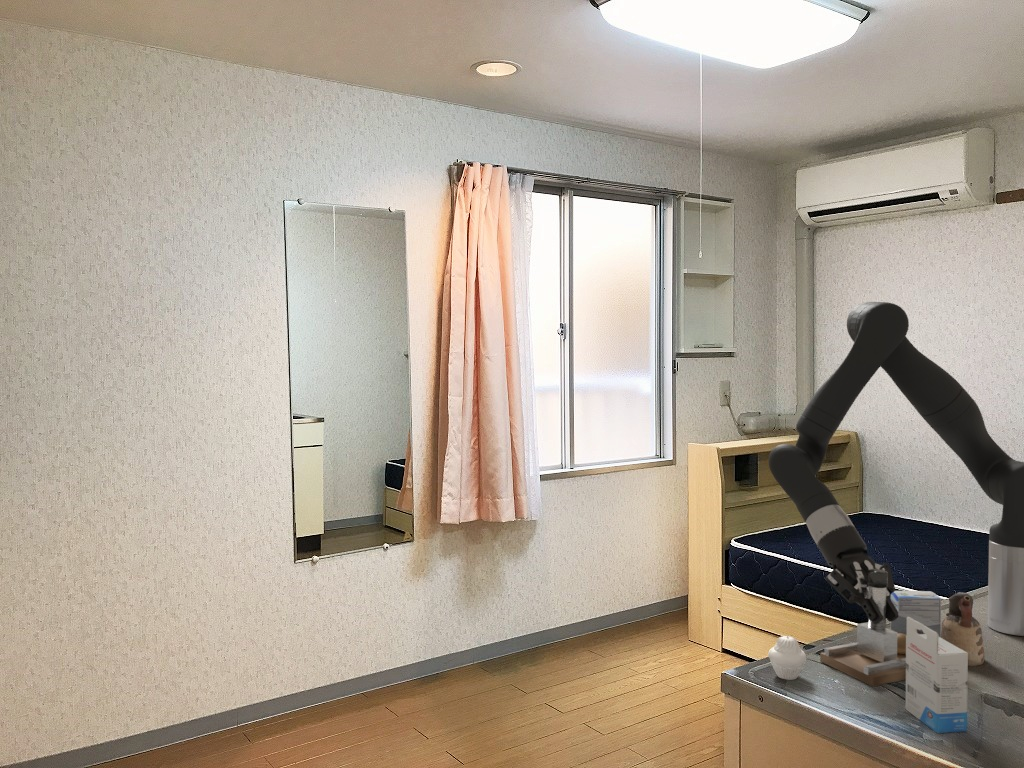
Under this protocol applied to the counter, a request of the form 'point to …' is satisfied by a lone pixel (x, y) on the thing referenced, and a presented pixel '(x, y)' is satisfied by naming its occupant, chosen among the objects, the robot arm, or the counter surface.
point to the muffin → (787, 658)
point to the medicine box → (918, 604)
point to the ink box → (935, 680)
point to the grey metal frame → (896, 625)
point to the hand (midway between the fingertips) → (886, 620)
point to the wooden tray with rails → (857, 661)
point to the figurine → (963, 628)
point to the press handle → (876, 636)
